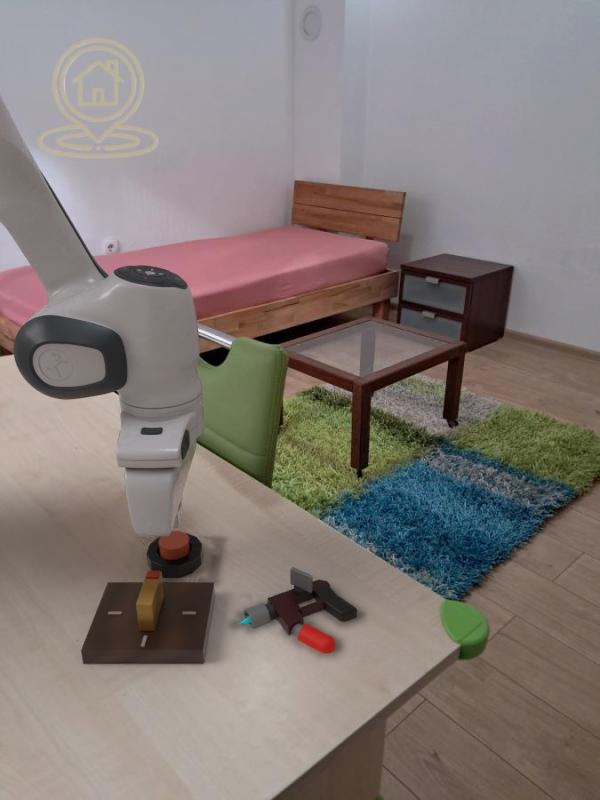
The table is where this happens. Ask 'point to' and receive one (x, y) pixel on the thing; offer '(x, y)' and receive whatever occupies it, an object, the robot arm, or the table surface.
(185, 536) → the button
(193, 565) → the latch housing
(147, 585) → the lock turn
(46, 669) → the table surface
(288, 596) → the toy gun
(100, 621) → the plate
